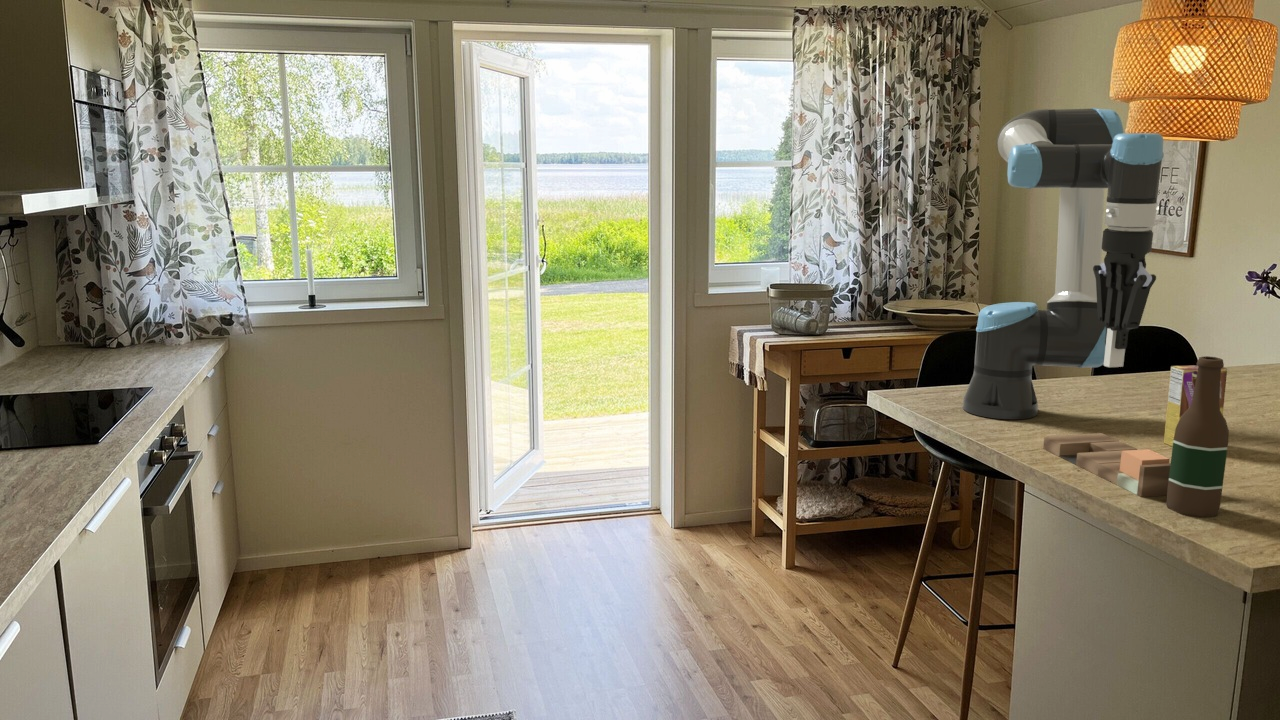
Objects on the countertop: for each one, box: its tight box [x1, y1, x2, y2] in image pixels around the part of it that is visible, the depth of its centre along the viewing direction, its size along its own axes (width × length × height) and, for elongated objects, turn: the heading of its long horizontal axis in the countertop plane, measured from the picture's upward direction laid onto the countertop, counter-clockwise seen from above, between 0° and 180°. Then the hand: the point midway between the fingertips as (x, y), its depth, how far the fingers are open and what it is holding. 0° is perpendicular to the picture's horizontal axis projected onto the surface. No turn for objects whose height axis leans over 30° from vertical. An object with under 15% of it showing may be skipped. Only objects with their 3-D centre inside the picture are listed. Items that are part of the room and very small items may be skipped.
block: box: [1119, 448, 1170, 480], centre depth 161 cm, size 5×5×4 cm
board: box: [1043, 432, 1171, 498], centre depth 170 cm, size 27×12×5 cm, turn 11°
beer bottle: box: [1166, 356, 1230, 518], centre depth 149 cm, size 8×8×24 cm
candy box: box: [1163, 364, 1228, 448], centre depth 184 cm, size 9×4×15 cm, turn 96°
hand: (1113, 365), depth 167 cm, fingers closed
